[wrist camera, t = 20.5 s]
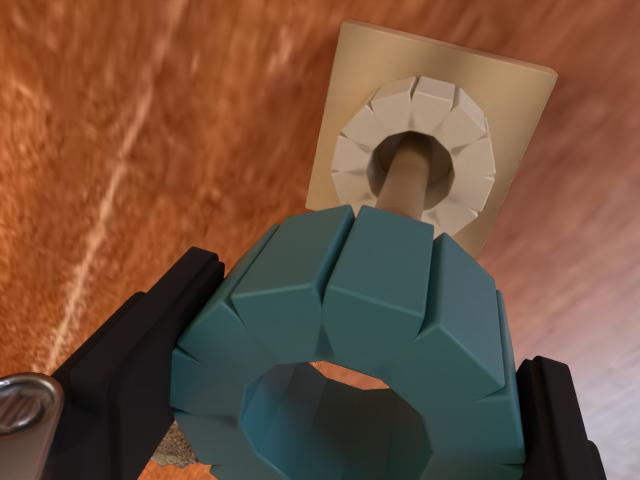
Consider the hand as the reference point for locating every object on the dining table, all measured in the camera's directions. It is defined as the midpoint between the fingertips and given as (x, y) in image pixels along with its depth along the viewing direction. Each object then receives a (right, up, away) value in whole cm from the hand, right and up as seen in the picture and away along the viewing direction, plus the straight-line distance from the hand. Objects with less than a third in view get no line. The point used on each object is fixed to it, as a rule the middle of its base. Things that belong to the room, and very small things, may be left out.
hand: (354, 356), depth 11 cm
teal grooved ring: (0, 0, +1) cm, 1 cm away
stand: (+4, +7, +13) cm, 15 cm away
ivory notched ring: (+4, +7, +12) cm, 14 cm away
